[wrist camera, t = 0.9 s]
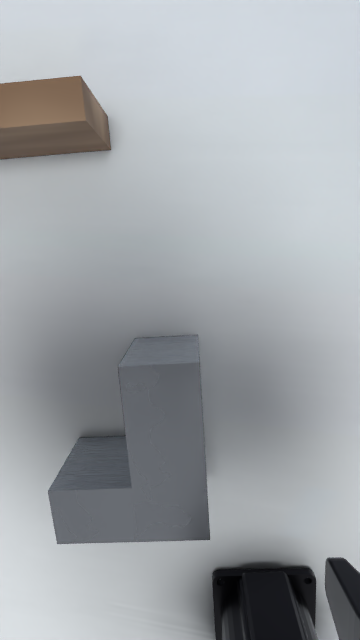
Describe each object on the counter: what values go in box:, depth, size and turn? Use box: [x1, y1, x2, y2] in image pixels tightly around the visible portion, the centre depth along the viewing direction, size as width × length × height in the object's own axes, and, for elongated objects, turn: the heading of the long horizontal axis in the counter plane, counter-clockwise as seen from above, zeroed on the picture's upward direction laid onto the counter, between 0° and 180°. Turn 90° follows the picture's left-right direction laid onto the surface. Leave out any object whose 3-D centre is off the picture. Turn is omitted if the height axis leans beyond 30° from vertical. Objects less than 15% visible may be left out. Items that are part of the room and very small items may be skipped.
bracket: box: [48, 335, 210, 544], centre depth 18 cm, size 9×8×4 cm
